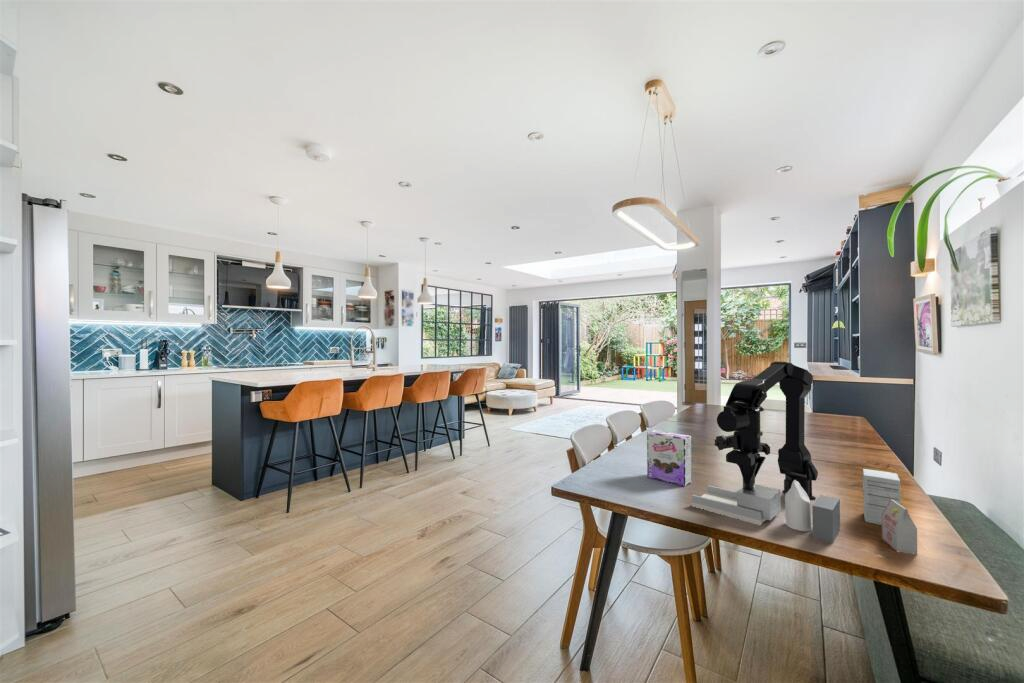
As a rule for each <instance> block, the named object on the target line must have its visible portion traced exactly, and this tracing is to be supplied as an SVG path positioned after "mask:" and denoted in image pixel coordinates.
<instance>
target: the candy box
mask: <svg viewBox="0 0 1024 683" xmlns="http://www.w3.org/2000/svg"><path fill="white" fill-rule="evenodd" d="M646 435H647V436H646V438H647V439H646V442H647V444H646V445H647V446H646V447H647V448H646V451H647V452H646V457H647V460H646V461H647V462H646V464H647V465H646V466H647V467H646V468H647V469H646V470H647V471H646V472H647V474H646V475H647V478H648V477H649V479H652V478H654V479H653V480H657V479H658V480H657V481H661V480H662V481H661V482H665V481H666V483H669V482H671V483H670V484H673V483H675V484H674V485H677V484H679V485H678V486H681V485H683V486H682V487H686V485H687V484H688V485H690V484H692V436H691V435H688V434H681V433H675V432H674V433H673V432H667V431H661V430H656V429H652V430H650V431H648V432H647V433H646ZM689 483H690V484H689ZM688 485H687V486H688Z"/></svg>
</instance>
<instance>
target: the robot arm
mask: <svg viewBox="0 0 1024 683" xmlns="http://www.w3.org/2000/svg"><path fill="white" fill-rule="evenodd" d="M813 382H814V377H813V374H812V373H811V372H809V370H808V369H806V368H803V367H799V366H797V365H795V364H793V363H792V362H790V361H772V362H771V363H770V365H769V366H768V367H766V368H765V369H764V370H762V371H761V372H760V373H758V374H757V375H756V376H754V377H753V378H750V379H746V380H741V381H739V382H736V383H735V384H734V386H733V387H732V389H731V391H730V394H729V396H728V399H727V401H726V403H725V406H723V411H720V412H719V413H718V414H717V417H716V423H717V426H718V428H719V429H721V430H722V432H726V433H731V432H733V434H730V435H726V436H725V435H723V434H721V435H717V436H715V439H714V446H715V447H717V449H718V451H723V450H725V449H730V448H732V450H730V451H729V452H727V453H726V454H725V462H726V463H729V464H730V463H731V464H735V465H737V466H738V467H739V470H740V471H739V472H740V473H741V476H742V481H743V480H744V483H745V484H746V485H750V482H751V480H752V477H753V475H754V472H755V478H756V477H757V475H758V473H759V471H760V469H761V468H762V465H763V464H764V462H765V460H766V456H761V454H760V453H764V455H767V456H769V455H770V454H771V446H770V445H769V444H768V443H765V442H761V437H762V436H763V435H764V434H763V431H761V412H764V411H765V408H764V407H763V406H761V405H762V404H763V402H765V400H766V398H768V394H767V392H768V391H769V390H770V389H772V387H774V386H775V385H777V384H778V383H779V389H780V391H781V392H782V393H783V395H784V396H785V442H784V444H783V446H782V447H781V448H778V450H777V453H778V457H777V464H778V468H779V469H778V470H779V473H780V474H782V475H784V476H785V477H784V478H785V479H784V480H783V490H782V489H781V490H782V493H783V494H785V495H786V493H787V492H788V491H789V489H790V488H791V485H792V482H793V481H794V480H796V481H798V482H799V484H800V485H801V487H802V488H803V489H804V491H805V492H806V493H807V495H808V497H809V499H810V500H817V498H816V496H814V495H813V481H817V479H818V476H819V475H818V474H819V472H818V470H817V468H816V466H815V465H814V463H813V462H812V456H811V455H812V454H811V452H810V451H809V449H808V448H807V447H806V444H805V418H806V417H805V416H806V415H805V411H806V410H805V407H806V406H805V402H806V401H805V398H806V397H807V395H809V393H810V392H811V390H812V384H813Z"/></svg>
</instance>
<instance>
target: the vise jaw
mask: <svg viewBox="0 0 1024 683" xmlns="http://www.w3.org/2000/svg"><path fill="white" fill-rule="evenodd" d="M736 492H737V506H739V507H743V508H747V509H751V510H755V511H758V512H762V518H763V519H767V521H772V519H773V518H774V517H775V516H776V515H777V514H778V513H779V512H780V511H781V508H782V507H781V500H782V499H781V489H778V488H773V487H768V486H763V485H759V484H756V477H755V472H754V475H753V477H752V480H751V482H750V485H746V484H745V483H744V480H743V479H742V487H741V488H739V490H738V491H736Z"/></svg>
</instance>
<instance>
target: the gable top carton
mask: <svg viewBox="0 0 1024 683" xmlns="http://www.w3.org/2000/svg"><path fill="white" fill-rule="evenodd" d="M881 540H882V541H884V542H885V541H886V542H887V543H888V544H889V545H890V546H889V545H888V544H887V543H886V542H885V543H886V544H887V545H888V546H889V547H890V548H892V547H893V548H894V549H895V550H896V551H899V552H898V553H900V552H906V553H905V554H908V553H914V554H913V555H916V554H917V555H918V527H917V526H916V525H915V523H914V521H913V520H912V518H911V516H910V514H909V512H908V509H907V508H905V507H904V506H903V505H900V504H898V503H897V502H895V501H894V500H891V499H889V503H888V505H887V507H886V508H885V510H884V512H883V513H882V525H881ZM893 548H892V549H893ZM894 549H893V550H894ZM895 550H894V551H895ZM896 551H895V552H896Z"/></svg>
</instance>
